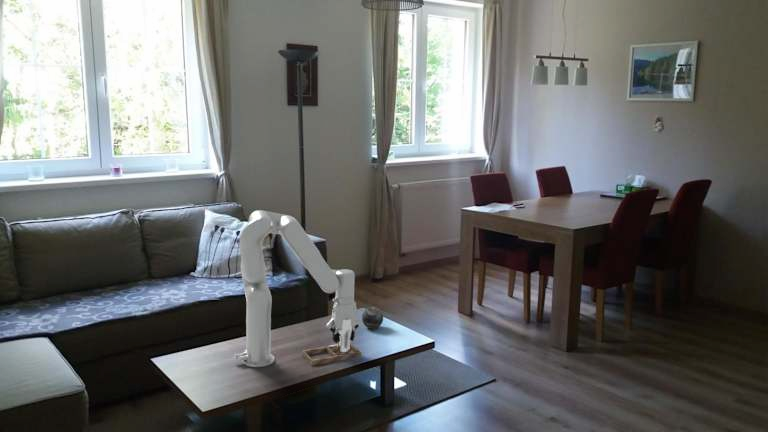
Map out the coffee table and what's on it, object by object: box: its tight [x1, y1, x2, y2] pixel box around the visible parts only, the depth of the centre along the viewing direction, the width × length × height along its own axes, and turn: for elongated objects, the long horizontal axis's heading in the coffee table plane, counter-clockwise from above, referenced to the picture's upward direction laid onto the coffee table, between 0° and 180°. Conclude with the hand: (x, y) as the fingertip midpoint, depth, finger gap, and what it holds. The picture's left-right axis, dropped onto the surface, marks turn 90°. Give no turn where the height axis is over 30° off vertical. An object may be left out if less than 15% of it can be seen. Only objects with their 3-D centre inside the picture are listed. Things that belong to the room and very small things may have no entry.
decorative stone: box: [361, 306, 384, 330], centre depth 289 cm, size 10×10×10 cm
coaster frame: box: [301, 342, 363, 366], centre depth 257 cm, size 22×11×2 cm, turn 118°
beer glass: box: [335, 319, 352, 355], centre depth 258 cm, size 7×7×15 cm
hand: (343, 340), depth 258 cm, fingers closed on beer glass, 6 cm apart
